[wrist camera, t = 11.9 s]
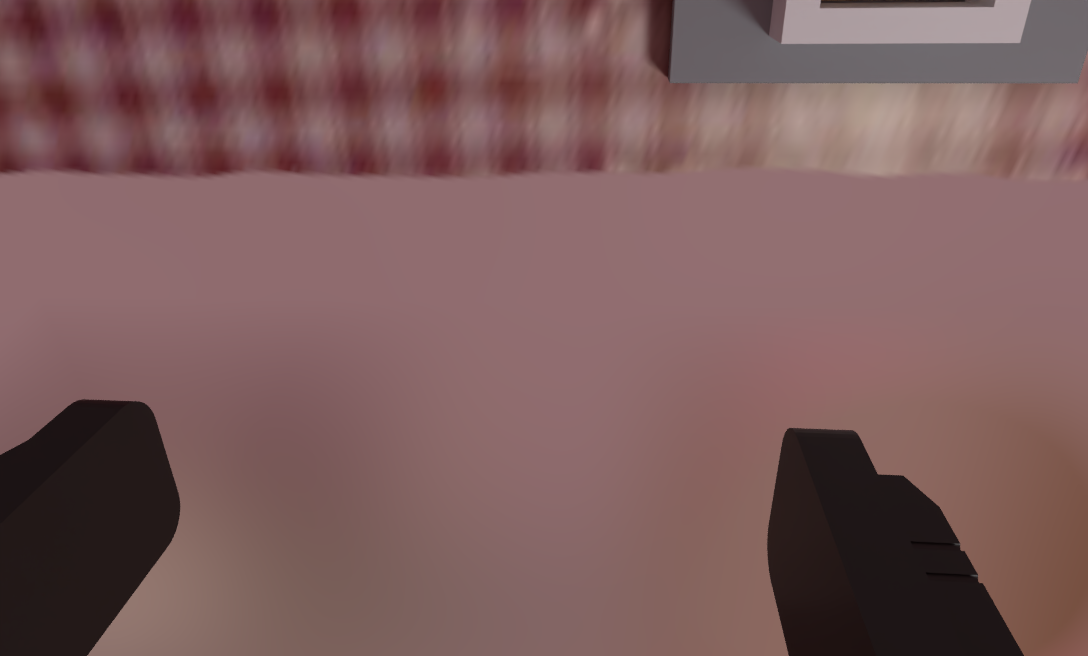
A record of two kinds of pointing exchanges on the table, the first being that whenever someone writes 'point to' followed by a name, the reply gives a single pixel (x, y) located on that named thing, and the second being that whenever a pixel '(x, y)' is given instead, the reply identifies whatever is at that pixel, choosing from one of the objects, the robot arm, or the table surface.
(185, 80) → the table surface
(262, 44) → the table surface
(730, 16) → the square frame on plate
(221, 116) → the table surface
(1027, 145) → the table surface
